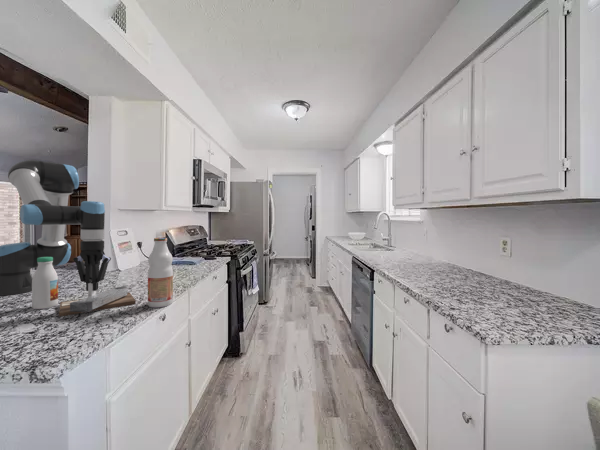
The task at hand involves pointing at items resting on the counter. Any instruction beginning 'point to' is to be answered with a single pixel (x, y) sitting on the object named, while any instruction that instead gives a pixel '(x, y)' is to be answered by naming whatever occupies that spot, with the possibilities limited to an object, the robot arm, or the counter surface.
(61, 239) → the robot arm
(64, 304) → the label board
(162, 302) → the fruit juice
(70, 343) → the counter surface
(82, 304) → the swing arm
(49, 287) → the milk bottle
